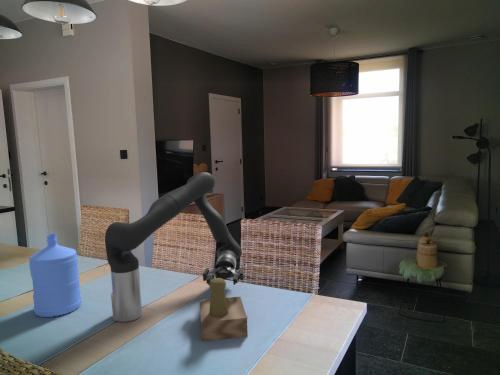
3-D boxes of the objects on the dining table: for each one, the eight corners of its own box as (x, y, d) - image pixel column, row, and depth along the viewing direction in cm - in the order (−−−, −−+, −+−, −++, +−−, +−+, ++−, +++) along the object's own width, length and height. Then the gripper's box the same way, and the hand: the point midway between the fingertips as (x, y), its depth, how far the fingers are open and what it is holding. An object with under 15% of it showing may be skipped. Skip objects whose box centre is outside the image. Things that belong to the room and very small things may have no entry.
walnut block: (201, 341, 112) (200, 322, 111) (200, 316, 127) (199, 300, 127) (247, 336, 114) (247, 317, 113) (240, 312, 129) (240, 296, 129)
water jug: (91, 303, 141) (84, 231, 138) (54, 321, 127) (46, 242, 123) (62, 297, 148) (56, 228, 144) (24, 314, 134) (16, 238, 130)
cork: (225, 318, 113) (224, 283, 112) (206, 316, 114) (205, 282, 113) (230, 309, 119) (229, 276, 118) (212, 308, 120) (211, 275, 119)
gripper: (206, 256, 140) (200, 271, 124) (244, 256, 140) (242, 271, 124) (207, 275, 141) (201, 293, 125) (244, 275, 141) (243, 292, 125)
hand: (221, 282), depth 124 cm, fingers open, 8 cm apart
